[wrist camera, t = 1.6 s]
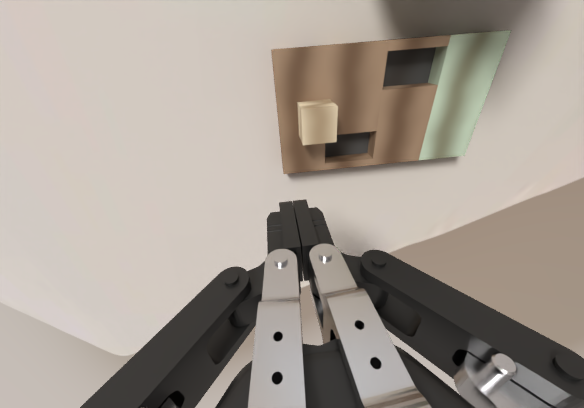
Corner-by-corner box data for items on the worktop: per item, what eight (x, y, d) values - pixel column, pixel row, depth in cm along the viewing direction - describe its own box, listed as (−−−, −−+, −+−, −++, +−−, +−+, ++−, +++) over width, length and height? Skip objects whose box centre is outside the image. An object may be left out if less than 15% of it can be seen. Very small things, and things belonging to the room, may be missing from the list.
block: (329, 99, 28) (338, 106, 25) (329, 131, 31) (336, 142, 27) (297, 102, 28) (301, 109, 25) (298, 134, 31) (302, 145, 27)
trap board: (493, 31, 28) (511, 30, 26) (453, 149, 37) (464, 155, 35) (271, 49, 27) (271, 49, 25) (282, 166, 36) (283, 174, 34)
